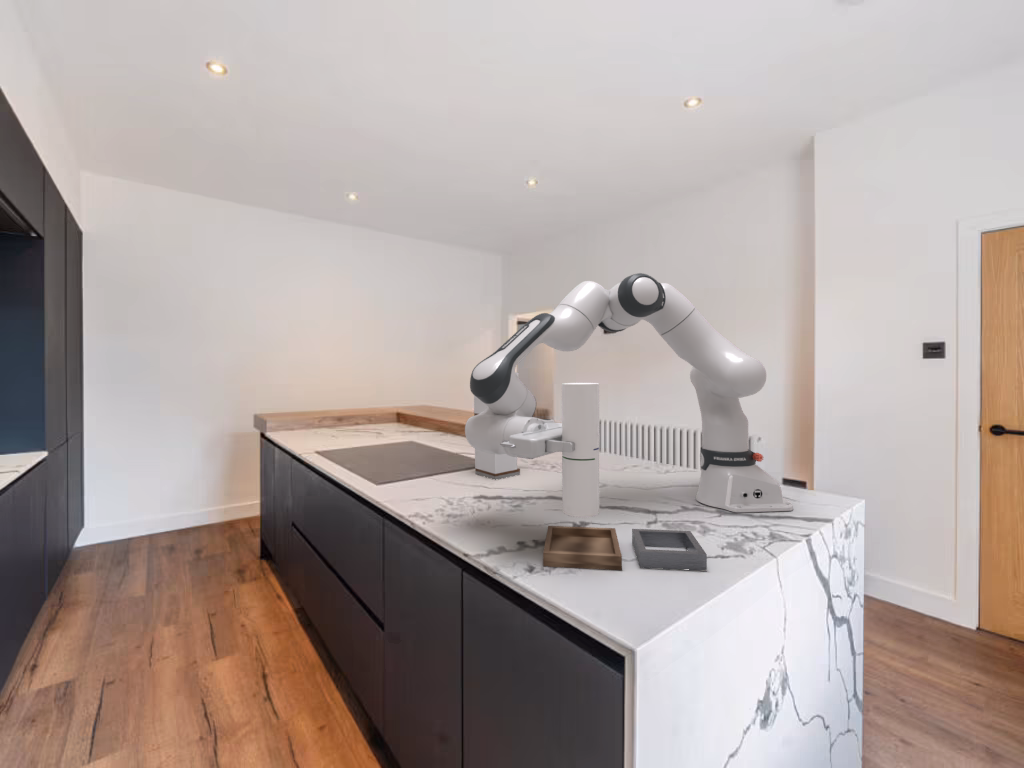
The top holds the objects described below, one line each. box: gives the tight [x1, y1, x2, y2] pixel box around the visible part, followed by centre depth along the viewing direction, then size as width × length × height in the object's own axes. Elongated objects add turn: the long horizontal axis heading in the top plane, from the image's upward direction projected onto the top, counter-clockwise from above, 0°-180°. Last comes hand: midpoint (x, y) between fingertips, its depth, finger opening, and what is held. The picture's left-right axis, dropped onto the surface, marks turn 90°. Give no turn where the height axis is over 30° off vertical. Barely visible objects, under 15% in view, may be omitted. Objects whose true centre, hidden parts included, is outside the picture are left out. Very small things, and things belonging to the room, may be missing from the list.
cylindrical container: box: [561, 382, 600, 518], centre depth 86 cm, size 7×7×25 cm
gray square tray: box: [631, 528, 708, 571], centre depth 84 cm, size 11×11×3 cm
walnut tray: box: [542, 525, 623, 571], centre depth 87 cm, size 14×14×2 cm
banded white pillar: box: [473, 371, 521, 481], centre depth 151 cm, size 11×11×35 cm
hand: (584, 443), depth 85 cm, fingers closed on cylindrical container, 7 cm apart
